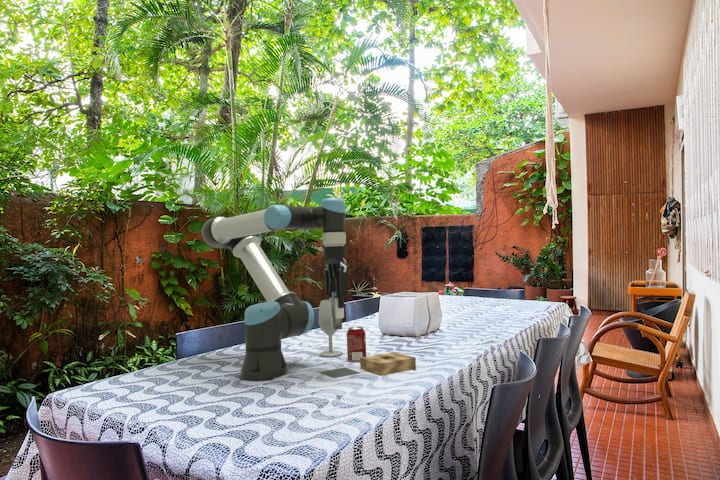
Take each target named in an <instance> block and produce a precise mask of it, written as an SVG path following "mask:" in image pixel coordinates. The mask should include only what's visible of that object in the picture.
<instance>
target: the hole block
mask: <svg viewBox="0 0 720 480" xmlns="http://www.w3.org/2000/svg"><path fill="white" fill-rule="evenodd" d="M416 360H417V359H416V357H415V356H410V355H407V354H403V353H400V352H396V351H392V352H387V353H380V354H375V355H374V354H373V355H369V356H366V357H362V358H360V362H359V364H360V365H359V366H360V370H362V371H365V372H368V373H371V374H375V375H378V376H386V375H391V374H395V373H401V372H407V371H416V370H417V365H416V364H417V362H416Z"/></svg>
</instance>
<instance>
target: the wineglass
mask: <svg viewBox="0 0 720 480" xmlns="http://www.w3.org/2000/svg"><path fill="white" fill-rule="evenodd" d="M318 307H319V308H318V325H319V329H320V330H321V331H322V332H323V333H324V334H325V335H327V336H328V350H325V351H321V352H319V353H318V355H319V356H321V357H324V358H325V357H329V358H333V357H337V356H338V357H340V356H341V355H343V351H341V350H334V348H333V345H334V344H333V335H334V334H335V333H337V331H338V330H339V329H333V317H332V318H331V317H330V299H323V300H320V304H319V306H318Z"/></svg>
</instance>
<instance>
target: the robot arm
mask: <svg viewBox="0 0 720 480" xmlns="http://www.w3.org/2000/svg"><path fill="white" fill-rule="evenodd" d="M318 229H322V245H323V248H322V249H323V253H322V254H323V259H327V260H326V265H323V266H322V269H323V273H324V287H325V295H326V296H328V297H329V300H330V317H331V318H332V317H333V314H332V292H336V297H335V310H336V319H339V318H342V319H344V318H345V300H344V298H345V297H348V292H349V291H348V290H349V289H348V288H349V287H348V286H349V285H348V283H349V281H348V280H349V276H348V275H349V270H350V269H349V268H350V267H349V265H345V262H344V258H347V256H348V255H347V246H345V245H346V244H347V235H346V207H345V200H344V199H343V198H339V197H337V198H336V197H330V198H323V199H322V200H321V204H320V205H319V206H318V205H317V206H298V205H283V204H272V205H269V206H268V207H267V208H266V209H261V210H257V211H253V212H248V213H244V214H239V215H234V216H231V217H225V216H216V217H212V218H209V219H207V220H206V221H205V222H204V223H203V225H202V228H201V236H202V238H203V241H204V242H205V244H206V245H208V246H210V247H212V248H216V249H229V250H230V252H231V253H232V255H233V256H234V257H236V258H239V259H240V260H241V261H242V263H243V265H244V266H245V268H246V270H247V272H248V273H249V274H250V276H251V278H252V279H253V281H254V283H255V285H256V286H257V288H258V290H259V291H260V293H261V294H262V295H263V298H264V299H265V302H259V303H256V304H252V305H249V306H248V307H246V309H245V311H244V319H243V323H244V340H245V355H244V356H243V357H244V358H243V361H242V365H241V368H240V378H241V379H243V380H247V381H269V380H274V379H276V378H277V379H278V378H280V377H283V376H286V375H287V374H288V364H287V362H286V359H285V357H284V354H283V350H282V340H284V339H288V338H292V337H293V338H294V337H299V336H302V335H305V334H306V333H307V334H308V333H309V332H310V331H311V329H312V328H313V326H314V322H315V311H314V309H313V306H312V304H311V303H310V302H307V301H305V300H300V298H299V297H298V295H297V294H296V292H292V291H290V290H289V289H288V287H287V286H286V285H285V283H284V281H283V279H281V277H280V275H279V274H278V272H277V270H276V268H274V266H273V263H272V262H271V261H270V260H269V258H268V256H267V255H266V253H265V252H264V250H263V249H262V247H261V244H262V243H261V242H262V241H261V239H262V234H263V233H264V234H265V233H269V232H273V231H275V232H276V231H281V230H301V231H310V230H318Z"/></svg>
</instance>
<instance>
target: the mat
mask: <svg viewBox="0 0 720 480" xmlns="http://www.w3.org/2000/svg"><path fill="white" fill-rule="evenodd" d="M318 373H320V374H322V375H325V376H327V377H329V378H332V379H338V378H341V377H347V376H352V375H357V374H358V375H359V374H361V372H360V371H356V370H354V369H351V368H348V367H340V368H334V369H328V370H322V371H319V372H318Z"/></svg>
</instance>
